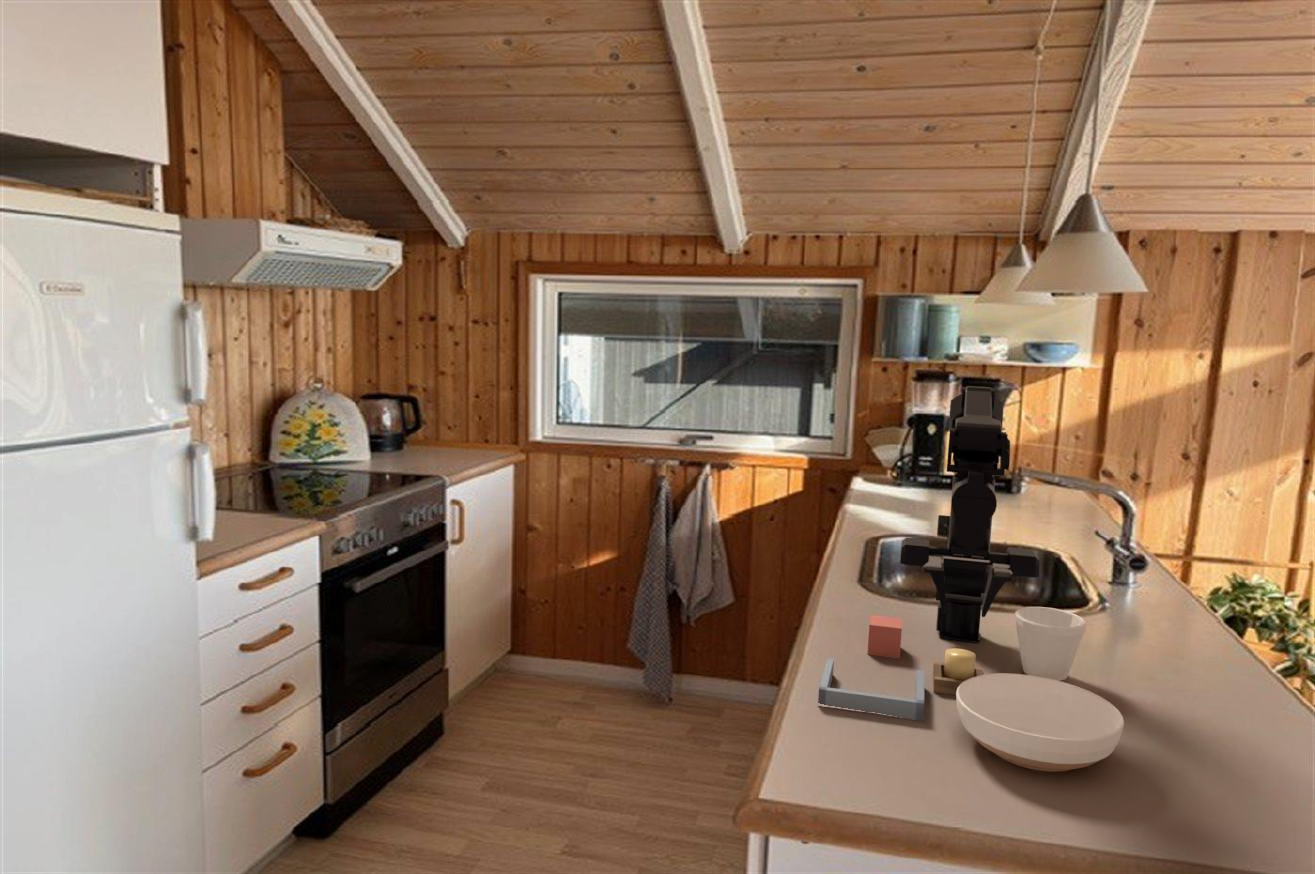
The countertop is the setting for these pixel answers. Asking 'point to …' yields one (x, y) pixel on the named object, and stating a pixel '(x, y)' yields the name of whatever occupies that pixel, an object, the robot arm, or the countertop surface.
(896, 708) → the pocket
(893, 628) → the cube
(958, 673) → the pale yellow rounded block
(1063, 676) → the cup
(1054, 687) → the bowl
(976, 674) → the housing
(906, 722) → the countertop surface
